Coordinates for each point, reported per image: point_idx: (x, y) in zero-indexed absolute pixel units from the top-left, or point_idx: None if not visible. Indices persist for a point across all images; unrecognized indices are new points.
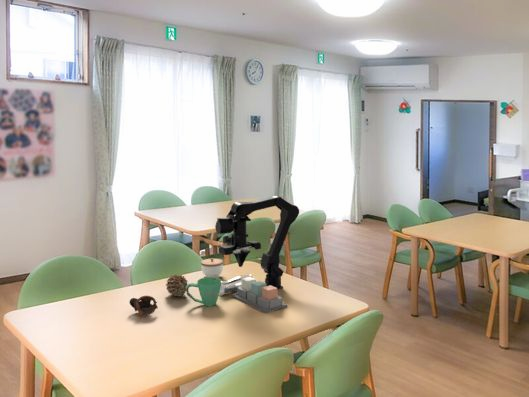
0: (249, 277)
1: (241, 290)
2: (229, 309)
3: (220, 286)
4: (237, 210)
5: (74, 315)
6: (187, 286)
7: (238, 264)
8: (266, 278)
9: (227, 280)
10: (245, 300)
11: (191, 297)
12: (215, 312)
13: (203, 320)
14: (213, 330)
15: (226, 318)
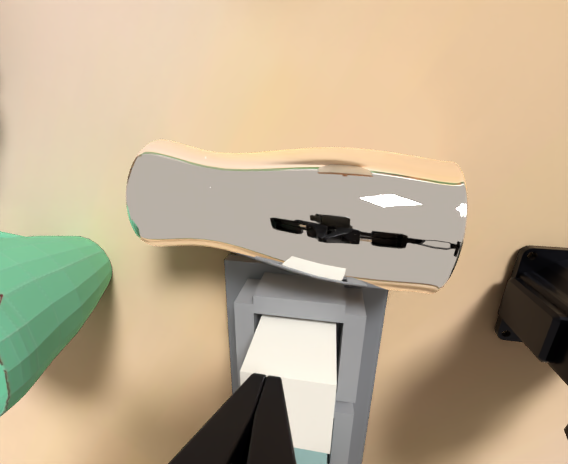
0: (317, 397)
1: (237, 345)
2: (140, 366)
3: (41, 373)
4: None
5: None
6: None
7: (232, 398)
8: (555, 333)
9: (204, 196)
10: (234, 369)
11: None
12: (79, 352)
13: None
14: (34, 443)
15: (98, 414)
